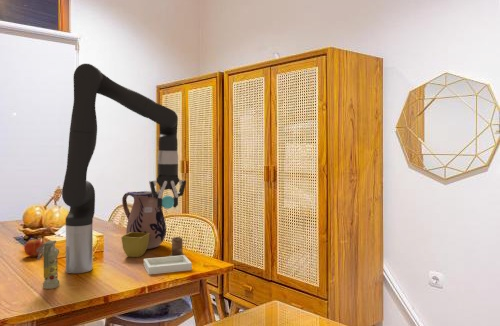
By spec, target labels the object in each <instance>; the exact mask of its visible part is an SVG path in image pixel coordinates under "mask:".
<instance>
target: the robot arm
mask: <svg viewBox="0 0 500 326" xmlns="http://www.w3.org/2000/svg"><path fill="white" fill-rule="evenodd" d="M97 94H98V95H101V96H103V97H106V98H109V99H111V100H112V101H114V102H116V103H118V104H120V105H121V106H123V107H124V108H126V109H128V110H130V111H131V112H134V113H135V114H137V115H139V116H141V117H143V118H146V119H149V120H150V121H153V123H156V124H157V125H159V128H158V129H159V130H158V131H159V138H158V152H157V178H156V179H154V180H149V182H148V183H149V186H150V187H149V188H150V191H151V192H152V195H153V196H154V197H157V206H158V207H159V208H161V209H162V208H163V207H162V198H163V197H162V196H163V193H164V191H166V190H170V191H172V194H173V196H172V198H173V199H174V205H173V207H172V208H175V209H176V208H177V207H178V206H179V198H180V197H182V196H183V195H184V192H185V188H186V185H187V181H186V180H184V179H180V178H179V154H178V153H179V152H178V122H179V118H178V115H177V113H176V111H175V110H173V109H171V108H169V107H167V106H164V105H162V104H160V103H157V102H155V101H154V100H153V99H150V98H149V97H147V96H145V95H143V94H141V93H139V92H138V91H135V90H133V89H130V88H127V87H125V86H123V85H121V84H119V83H117V82H116V81H114V80H112V78H110V77H109V76H107V75H106V74H104V73H103V72H102V71H101V70H100V69H99V68H97V67H96V66H95V65H93V64H90V63H82V64H79V65H78V66H77V67H76V69H75V70H74V73H73V105H72V111H71V118H70V126H69V135H68V136H69V137H68V146H67V147H68V148H67V150H68V151H67V161H66V169H65V175H64V180H63V183H62V184H63V185H62V189H61V196H62V197H61V198H62V200H63V202H64V204H65V205H66V206H68V207H69V211H68V214H67V215H66V217H65V274H83V273H84V274H85V273H87V272H91V271H93V268H94V267H93V265H94V262H93V261H94V260H93V259H94V256H93V255H94V253H93V252H94V247H93V245H94V242H93V241H94V240H93V239H94V237H93V235H94V234H93V228H94V225H93V223H94V222H93V221H94V216H95V210H96V209H95V208H96V207H95V206H96V191H95V190H96V189H95V188H94V185H93V184H92V183H91V182H90V181H88V180H87V177H88V176H87V174H88V167H89V164H90V162H91V160H92V158H93V155H94V153H95V149H96V147H97V146H96V144H97V136H98V121H97V113H96V112H97V111H96V100H97ZM157 184H158V186H159V188H158V192H157V193H158V194H156V186H157ZM178 184H179V190H177V188H176V187H177V185H178Z"/></svg>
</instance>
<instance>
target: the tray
mask: <svg viewBox="0 0 500 326" xmlns="http://www.w3.org/2000/svg"><path fill="white" fill-rule="evenodd" d="M143 267H144V268H145V270H146V272H147V275H158V274H165V273H166V274H168V273H174V272H184V271H185V272H186V271H192V270H193V263H192V262H191V260H190V259H189V258H188V257H187V256H186V255H185V254H184V255H179V256H170V255H169V256H161V257H159V256H158V257H150V258H148V257H147V258H143Z"/></svg>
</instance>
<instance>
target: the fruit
mask: <svg viewBox="0 0 500 326" xmlns="http://www.w3.org/2000/svg"><path fill="white" fill-rule="evenodd" d="M43 244H44V243H43V242H42V241H41V240H40V239H36V237H33V238H32V239H30V240H28V241H27V242H25V245H24V253H25V255H27V256H29V257H31V258H35V257H38V254H39V252H40V251H39V252H37V251H36V250H37V249H38V248H39V247H41V246H42V245H43ZM42 248H43V249H44V247H42ZM39 250H41V249H39ZM41 254H42V251H41Z"/></svg>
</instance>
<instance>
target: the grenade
mask: <svg viewBox="0 0 500 326" xmlns="http://www.w3.org/2000/svg"><path fill="white" fill-rule="evenodd" d="M56 243H57V240H47V241H46V242H44V243H43V245H42V246H41V247H39V248H38V249H37V250H36V251H37V252H39V251H40V252H39V254H38V256H37V259H36V260H38V261H40V260H41V259H42V257H43V278H44V281H43V283H42V288H43V289H46V290H51V289H55V288H58V287H59V285H60V280H59V278H58V277H59V276H58V275H59V274H58V271H59V270H58V268H59V267H58V265H59V264H58V256H59V254H60V249H59V248H57V247H56ZM42 247H43V248H42ZM39 249H41V250H39ZM41 251H42V253H41Z"/></svg>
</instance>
